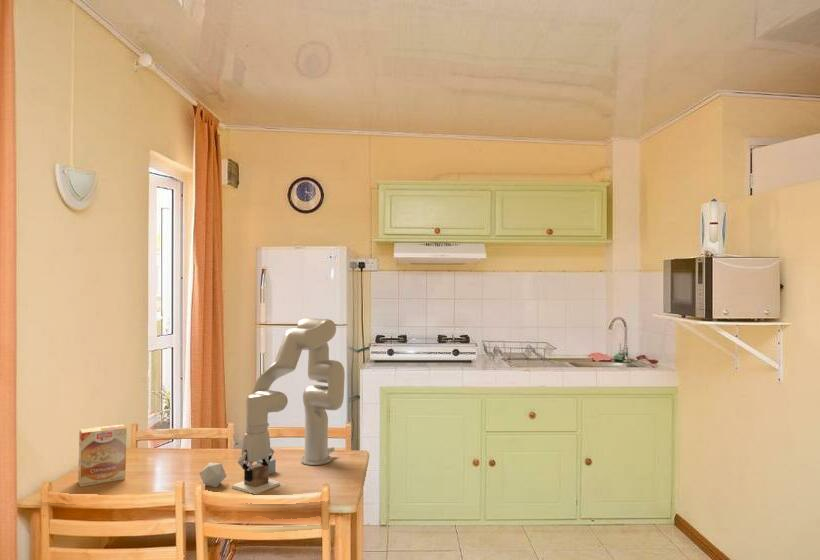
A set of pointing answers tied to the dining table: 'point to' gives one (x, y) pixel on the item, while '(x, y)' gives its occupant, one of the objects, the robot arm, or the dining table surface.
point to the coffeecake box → (102, 454)
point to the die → (213, 474)
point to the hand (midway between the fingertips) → (256, 477)
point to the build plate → (258, 489)
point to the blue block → (270, 465)
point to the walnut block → (258, 475)
